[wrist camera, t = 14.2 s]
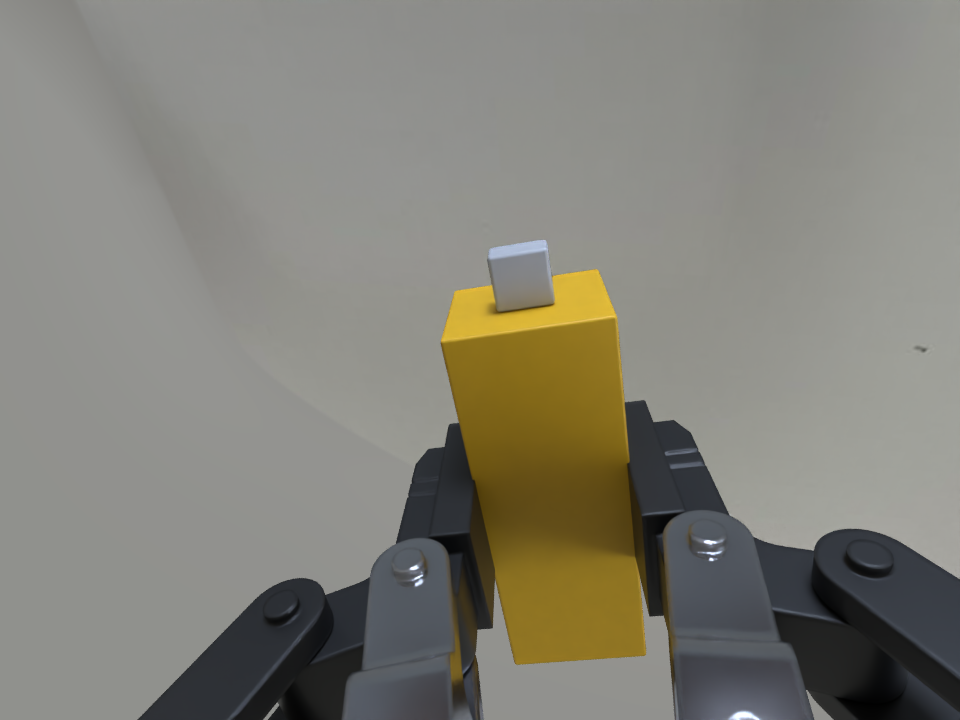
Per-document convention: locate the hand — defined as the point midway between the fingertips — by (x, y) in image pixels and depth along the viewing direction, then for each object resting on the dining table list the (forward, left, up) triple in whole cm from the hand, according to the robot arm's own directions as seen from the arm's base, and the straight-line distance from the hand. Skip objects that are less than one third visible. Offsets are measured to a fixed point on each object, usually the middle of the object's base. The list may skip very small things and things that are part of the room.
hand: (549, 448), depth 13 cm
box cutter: (0, 0, 0) cm, 0 cm away
